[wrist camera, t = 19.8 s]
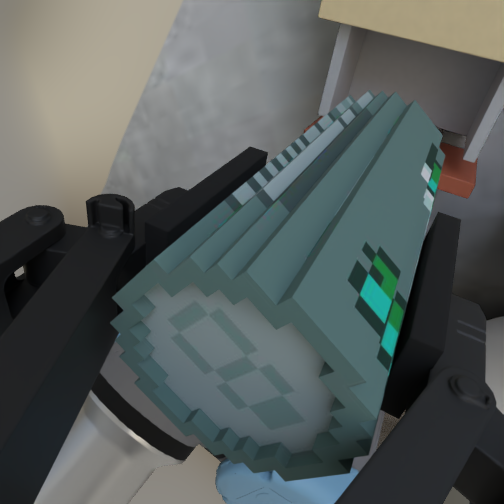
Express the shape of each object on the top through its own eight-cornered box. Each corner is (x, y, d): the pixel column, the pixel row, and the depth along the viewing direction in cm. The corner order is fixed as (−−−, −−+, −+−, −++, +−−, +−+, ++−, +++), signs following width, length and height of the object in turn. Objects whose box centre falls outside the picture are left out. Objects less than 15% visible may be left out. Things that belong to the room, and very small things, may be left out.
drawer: (442, 223, 38) (434, 261, 33) (311, 177, 42) (286, 205, 37) (580, -45, 26) (601, -50, 21) (379, -79, 29) (355, -90, 24)
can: (362, 234, 23) (235, 487, 11) (290, 147, 22) (79, 327, 11) (469, 170, 19) (436, 462, 8) (386, 62, 18) (212, 205, 7)
